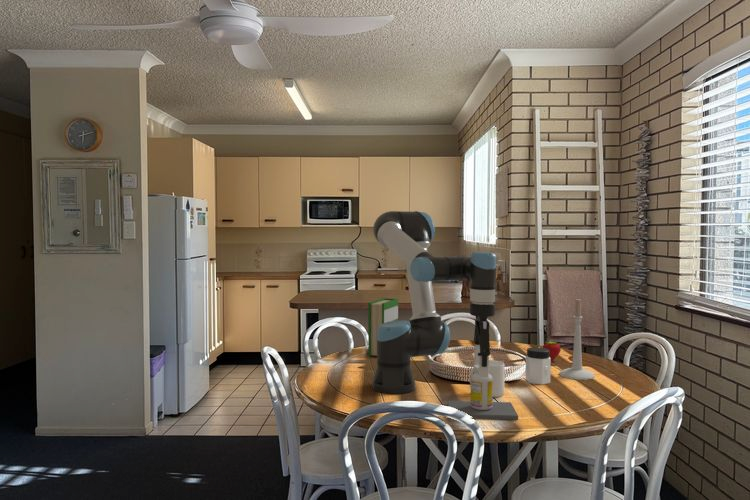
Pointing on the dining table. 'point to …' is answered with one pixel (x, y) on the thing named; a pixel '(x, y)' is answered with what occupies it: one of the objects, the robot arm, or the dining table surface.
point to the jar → (538, 365)
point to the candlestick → (577, 351)
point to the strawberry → (552, 349)
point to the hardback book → (379, 319)
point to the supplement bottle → (481, 391)
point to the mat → (496, 412)
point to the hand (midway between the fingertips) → (480, 370)
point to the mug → (495, 377)
